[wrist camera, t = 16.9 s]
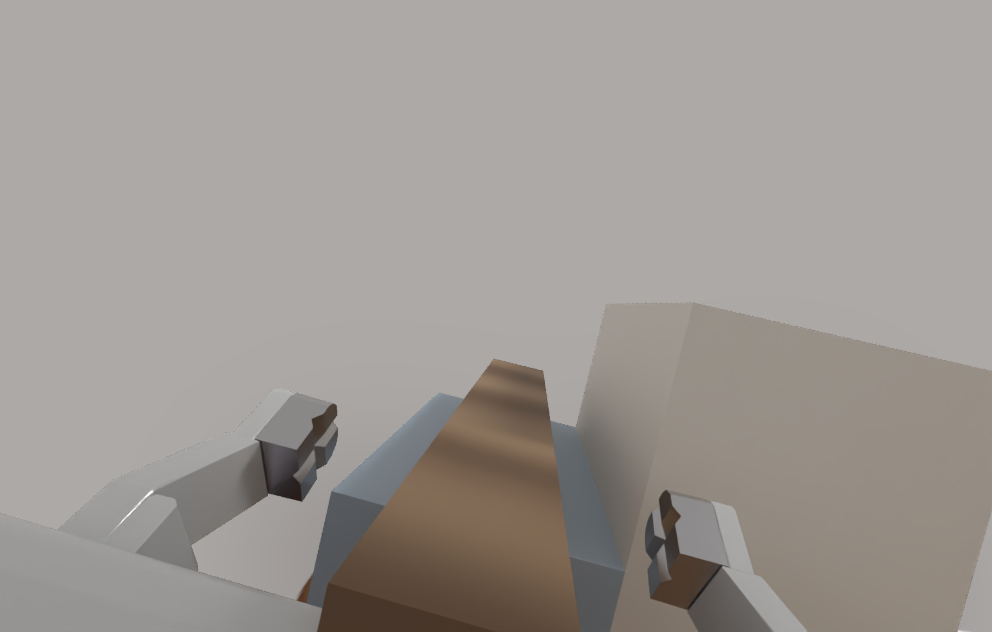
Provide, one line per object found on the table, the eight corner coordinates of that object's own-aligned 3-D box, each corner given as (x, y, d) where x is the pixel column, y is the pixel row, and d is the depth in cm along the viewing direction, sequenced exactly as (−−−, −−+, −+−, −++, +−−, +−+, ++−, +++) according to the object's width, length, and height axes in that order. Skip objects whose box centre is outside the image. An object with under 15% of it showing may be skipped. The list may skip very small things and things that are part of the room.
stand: (782, 1242, 14) (1029, 379, 13) (210, 1030, 15) (389, 233, 14) (648, 736, 30) (751, 337, 28) (377, 655, 31) (466, 271, 30)
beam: (525, 892, 6) (584, 656, 6) (277, 809, 6) (328, 582, 6) (532, 416, 30) (543, 370, 29) (483, 404, 30) (493, 358, 30)
